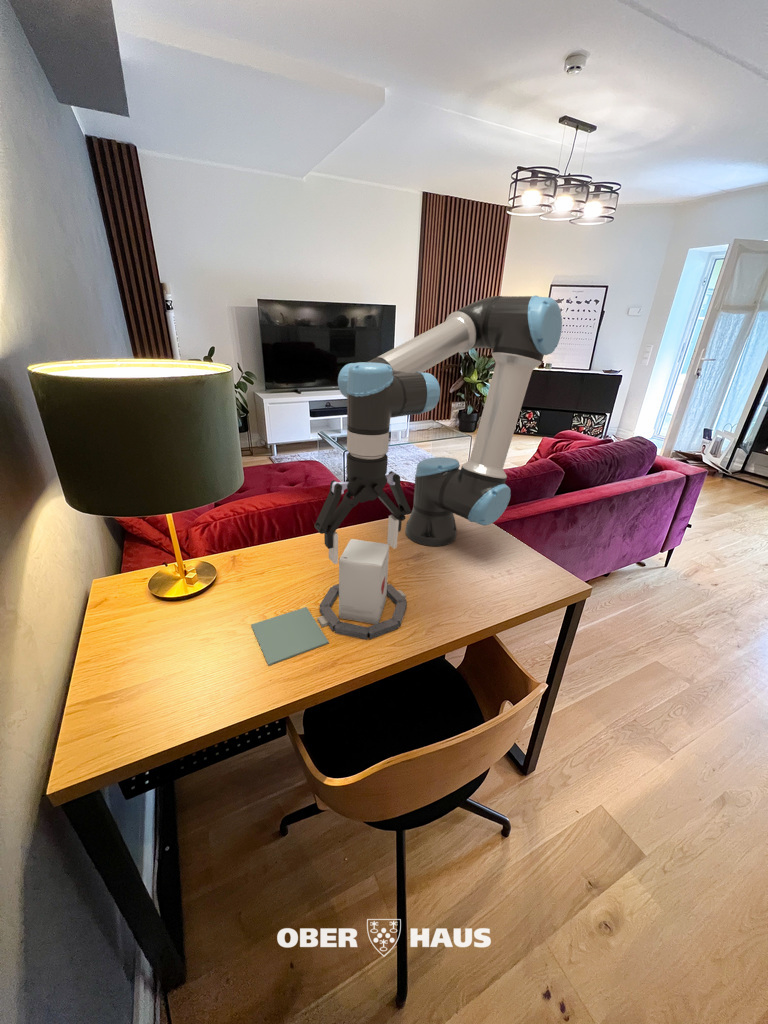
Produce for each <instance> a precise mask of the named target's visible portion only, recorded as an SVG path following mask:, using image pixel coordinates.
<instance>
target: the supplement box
mask: <svg viewBox="0 0 768 1024" xmlns="http://www.w3.org/2000/svg"><path fill="white" fill-rule="evenodd" d="M389 554H390V545H389V544H388V543H383V542H375V541H368V540H363V539H362V540H361V539H356V538H351V539H349V541H348V543H347V545H346V546H345V547H344V550H343V552H342V554H341V556H339V557H340V558H338V584H339V595H338V619H343V620H349V621H354V622H359V623H360V622H361V623H366V624H371V625H375V624H377V623H380V622H381V619H382V614H383V611H384V609H385V607H386V602H387V595H386V594H387V583H388V576H389V575H388V573H389V558H390V557H389V556H390V555H389Z"/></svg>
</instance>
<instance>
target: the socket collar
mask: <svg viewBox="0 0 768 1024" xmlns="http://www.w3.org/2000/svg"><path fill="white" fill-rule="evenodd" d="M338 597H339V583H337V584H333V585H332V586H330V588H329V589H328V590H327V592H326V594H325V596H324V597H323V599H322V600H321V602H320V603H319V614H320V616H318V617H316V618H317V623H318V624H319V625H320V628H325V627H327V626H328V627H329V628H330V629H329V630H331V631H332V632H333V633H334V634H337V635H340V636H341V635H342V636H346V637H351V638H355V639H359V640H364V641H365V640H366V641H367V640H373V639H376V638H378V637H381V636H384V635H386V634H389V633H391V632H394V631H396V630H399V628H401V625H402V622H403V619H404V616H405V614H406V611H407V605H408V601H407V599H406V598H407V594H405V593H404V591H402V590H401V589H398V590H397V589H396V587H394V586H393V585H392V584H391V583H389V582H387V594H386V597H387V598H389V600H391V602H392V603H393V604H394V605H395V608H394V610H393V612H392V613H393V614H392V617H391V618H388V619H386V620H382V621H379V623H377V624H371V625H369V626H364V625H359V624H354V623H349V622H344V621H341V620H340V618H339V616H338V615H336V613H335V612H334V610H333V609H332V606H333V605H334V603H335V601H336V600H337V599H338Z"/></svg>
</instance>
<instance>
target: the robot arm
mask: <svg viewBox="0 0 768 1024" xmlns="http://www.w3.org/2000/svg"><path fill="white" fill-rule="evenodd" d="M562 329H563V316H562V311H561V307H560V306H559V304H558V301H556V300H555V299H554V298H552V297H548V296H539V295H533V296H532V295H531V296H529V295H525V296H520V295H519V296H507V295H506V296H502V295H500V296H499V295H495V296H494V295H493V296H489V297H486V298H485V297H484V298H482V299H479V300H476V301H474V302H472V303H469V304H468V305H466V306H463V307H461V308H459V309H457V310H455V311H453V312H452V313H450V314H449V315H448V316H447V317H446V319H445V321H444V322H442V323H440V324H438V325H436V326H434V327H432V328H430V329H428V330H427V331H424V332H423V333H421V334H419V335H417V336H414V337H413V338H411V339H408V341H405V342H404V343H401V344H399V345H398V346H396V347H393V348H392V349H390V350H388V351H386V352H385V353H383V354H381V355H378V356H376V357H375V358H373V359H371V360H369V361H365V362H361V361H359V362H351V363H347V364H345V365H344V366H343V367H342V368H341V369H340V371H339V373H338V377H337V385H338V388H339V392H340V394H341V395H343V397H345V398H347V399H346V403H347V404H346V409H347V411H346V414H347V417H346V419H347V420H346V421H347V426H346V427H347V429H346V433H347V434H346V450H347V452H348V453H347V454H346V479H345V481H339V482H338V481H336V480H335V479H333V480H331V482H330V485H329V492H328V495H327V496H326V499H325V501H324V503H323V506H322V508H321V510H320V512H319V514H318V517H317V518H316V521H315V523H314V528H315V529H316V531H317V532H318V533H319V534H321V535H323V534H324V537H323V538H324V545H325V547H326V548H327V549H328V559H329V560H330V561H331V562H332V564H334V565H337V564H338V565H339V534H338V533H337V532H336V530H338V528H339V527H340V526H341V524H342V523H343V522H344V520H345V519H346V517H347V516H348V515H349V513H350V511H351V510H352V509H353V508H355V507H356V506H357V505H358V504H359V503H361V504H362V503H365V502H368V501H376V499H377V498H378V499H379V500H380V502H381V503H382V504H383V505H384V506H385V507H386V508H387V509H388V511H389V512H390V513H391V514H390V515H388V521H387V522H388V524H387V538H386V539H387V540H386V544H389V547H391V548H392V549H393V550H394V549H397V548H398V535H399V533H400V532H401V531H402V521H403V522H404V521H405V520H406V515H409V518H408V520H407V522H406V524H405V535H406V537H407V538H408V539H409V540H410V541H412V542H414V543H417V544H419V545H423V546H429V547H442V546H443V547H444V546H446V545H449V544H452V543H453V542H454V541H455V540H456V539H457V531H458V529H457V525H456V518H455V516H454V515H457V516H459V517H461V518H464V519H466V520H468V522H471V523H475V524H477V525H480V526H489V525H491V524H493V523H495V522H496V521H498V519H499V518H500V517H501V516H502V515H503V513H504V512H505V511H506V509H507V507H508V505H509V502H510V500H511V495H512V494H511V492H512V491H511V488H510V487H509V486H508V485H507V484H506V480H507V477H508V475H507V474H506V472H505V471H504V466H505V463H506V460H507V457H508V453H509V449H510V446H511V443H512V439H513V436H514V433H515V429H516V426H517V423H518V419H519V416H520V412H521V410H522V407H523V403H524V400H525V396H526V393H527V390H528V387H529V382H530V379H531V376H532V373H533V371H534V370H535V369H536V368H538V367H539V366H541V365H542V363H543V360H544V357H545V356H548V355H551V354H552V353H554V352H555V349H556V348H557V347H558V345H559V342H560V339H561V336H562ZM473 349H492V351H491V352H492V353H491V356H492V358H493V360H494V361H495V365H494V369H493V372H492V373H493V374H492V376H491V380H490V383H489V384H490V385H489V387H488V392H487V394H486V395H487V396H486V398H485V402H484V406H483V409H482V413H481V418H480V421H479V424H478V428H477V432H476V435H475V439H474V443H473V447H472V450H471V452H470V458H469V460H468V461H466V462H465V463H463V464H462V465H460V461H459V460H457V459H455V458H452V457H445V456H441V457H439V456H437V457H429V458H425V459H421V460H420V461H419V462H418V463H417V466H416V472H415V475H414V476H415V477H414V491H413V505H412V506H413V507H412V510H411V507H410V505H409V503H408V501H407V497H406V495H405V493H404V491H403V488H402V485H401V476H400V475H399V474H397V473H396V472H394V471H393V470H391V471H389V472H388V460H389V459H388V458H389V457H388V455H387V454H388V452H389V444H390V443H389V442H390V439H389V438H390V426H391V425H390V424H391V418H397V417H405V416H413V415H422V414H424V413H427V412H430V411H432V410H433V409H435V408H436V407H437V405H438V403H439V401H440V397H441V387H440V383H439V381H438V379H437V378H436V377H435V375H433V374H431V373H429V372H426V371H428V370H429V369H431V368H433V367H434V366H437V364H439V363H441V362H443V361H445V360H447V359H448V358H450V357H452V356H454V355H455V354H457V353H467V352H469V351H470V350H473ZM460 466H461V467H460ZM387 472H388V474H387ZM387 484H388V485H389V487H390V489H391V492H392V495H393V496H394V500H395V501H396V503H397V505H398V507H397V506H396V505H395V503H394V502H393V501H392V499H390V497H389V496H388V494H387V493H386V492H385V491H384V488H385V486H386V485H387ZM345 490H347V491H346V492H344V491H345ZM342 495H343V497H342ZM341 498H342V500H341ZM340 500H341V502H340Z"/></svg>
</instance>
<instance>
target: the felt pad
mask: <svg viewBox="0 0 768 1024" xmlns="http://www.w3.org/2000/svg"><path fill="white" fill-rule="evenodd" d="M250 626H251V628H252V631H253V633H254V636H255V637H256V640H257V643H258V645H259V647H260V650H261V652H262V655H263V657H264V659H265V662H266V663H267V666H268V667H269V666H272V665H275V664H277V663H280V662H283V661H286V660H288V659H291V658H293V657H297V656H299V655H301V654H305V653H307V652H309V651H311V650H315V649H318V648H320V647H322V646H327V645H328V644H330V643H329V639H328V638H327V637H326V635H325V634H324V632H323V630H322V628H321V626H319V623H318V622H317V621H316V619H315V618H314V616H313V615H312V613H311V612H310V610H309V608H308V607H307V606H305V607H302V608H299V609H295V610H293V611H288V612H287V613H283V614H280V615H277V616H273V617H270V618H267V619H265V620H262V621H258V622H255V623H252V624H250Z"/></svg>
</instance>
